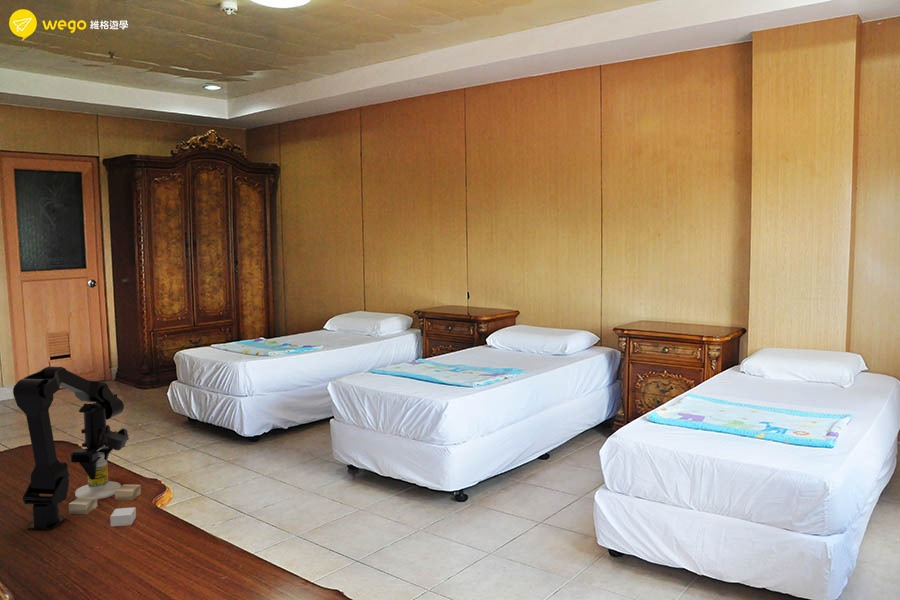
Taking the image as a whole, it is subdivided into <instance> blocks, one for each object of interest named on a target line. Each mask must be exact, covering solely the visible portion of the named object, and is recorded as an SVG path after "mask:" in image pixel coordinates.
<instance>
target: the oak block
mask: <svg viewBox="0 0 900 600" xmlns="http://www.w3.org/2000/svg"><path fill="white" fill-rule="evenodd" d="M141 485H142V484H125V483H124V484H123V485H122V484H121V487H120V488H118V489H117V490H115V495H114V499H115V501H126V502H127V501H128V502H129V501H130V502H132V501H134V500H135V499H136V498H138V497H139V496H140V495H141V494H142V486H141ZM137 496H138V497H137Z"/></svg>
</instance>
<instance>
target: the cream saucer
mask: <svg viewBox="0 0 900 600" xmlns="http://www.w3.org/2000/svg"><path fill="white" fill-rule="evenodd" d="M121 486H122V484H121V483H119V482H117V481H111V480H110V481H109V480H108V485H107V486H105V487H102V488H97V489H92V488H89V487H88V483H87V484H84V485H82V486H80V487H78V488H77V489H76V490H75V491H74V494H75V496H74V497H75V499H77V498H79V497H95V498H97V500H101V499H107V498H110V497H113V496H115V490H117V489H118V488H120V487H121Z"/></svg>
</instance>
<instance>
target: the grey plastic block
mask: <svg viewBox="0 0 900 600" xmlns="http://www.w3.org/2000/svg"><path fill="white" fill-rule="evenodd" d="M109 518H110V527H111V528H112V527H124V526H125V527H126V526H132V525H133V523H134V522H135V519H136V518H137V508H136V507H122V508H115V509H114V510H113V512H112V513H111V515H110V516H109Z"/></svg>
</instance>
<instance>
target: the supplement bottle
mask: <svg viewBox="0 0 900 600" xmlns="http://www.w3.org/2000/svg"><path fill="white" fill-rule="evenodd" d="M98 457H101V458H100V459H99V460H98V461H97V464H96V475H95V479H94V480H91V479H90V478H89V476H88V475H87V484H88V487H89V488H92V489H97V488H102V487H105V486H107V485H108V481H109V471H108V469H109V468H108V467H109V466H108V460H107V461H106V460H105V459H104V457H105V456H104V453H103V452H98Z"/></svg>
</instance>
